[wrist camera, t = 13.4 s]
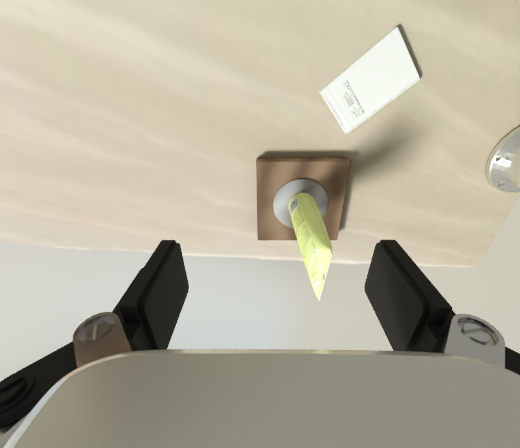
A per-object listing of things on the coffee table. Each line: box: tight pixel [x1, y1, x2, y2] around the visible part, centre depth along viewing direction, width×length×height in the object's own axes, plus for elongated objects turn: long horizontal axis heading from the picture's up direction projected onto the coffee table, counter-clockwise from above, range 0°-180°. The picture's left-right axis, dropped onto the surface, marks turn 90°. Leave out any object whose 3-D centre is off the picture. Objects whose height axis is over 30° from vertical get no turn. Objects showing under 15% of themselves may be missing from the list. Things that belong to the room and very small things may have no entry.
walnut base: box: [256, 158, 351, 240], centre depth 46 cm, size 16×16×3 cm
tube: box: [289, 193, 333, 301], centre depth 36 cm, size 6×5×20 cm
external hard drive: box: [319, 27, 420, 134], centre depth 37 cm, size 2×8×12 cm
